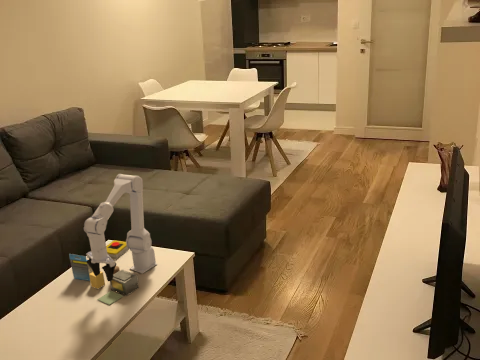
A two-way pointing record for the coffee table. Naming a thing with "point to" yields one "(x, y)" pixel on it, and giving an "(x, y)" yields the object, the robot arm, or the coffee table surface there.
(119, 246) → the emergency button
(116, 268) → the walnut cylinder
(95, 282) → the ochre block
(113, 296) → the pad
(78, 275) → the label tape box
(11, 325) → the coffee table surface
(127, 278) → the box
